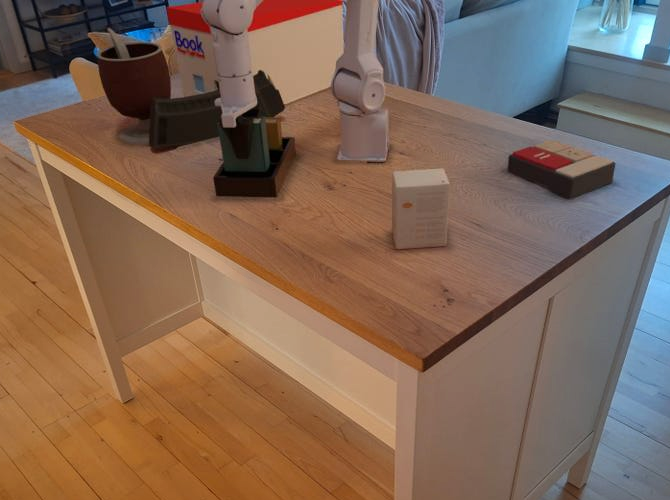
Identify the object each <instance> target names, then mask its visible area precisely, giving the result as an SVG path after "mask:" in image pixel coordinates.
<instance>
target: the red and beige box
mask: <svg viewBox="0 0 670 500" xmlns="http://www.w3.org/2000/svg"><path fill="white" fill-rule="evenodd" d="M616 164H617V163H616V162H614V161H613V160H612V159H608V158H605V157H603V156H601V155H600V156H599V155H594V153H593V152H591V151H588V150H585V149H582V148H579V147H576V146H571V145H570V144H567V143H563V142H561V141H559V140H555V139H548V140H545V141H543V142H540V143H536V144H535V145H533V146H528V147H525V148H522V149H519V150H515V151H513V152H512V154H509V155H508V160H507V172H508V173H512V174H514V175H516V176H518V177H521V178H523V179H526V180H529V181H531V182H534V183H535V184H538V185H541V186H543V187H546V188H548V189H549V190H550V191H551V193H553V194H555V195H557V196H560V197H562V198H565V199H566V200H570V199H573V198H575V197H579V196H580V195H583V194H586V193H588V192H592V191H594V190H596V189H600V188H601V187H604V186H607V185H609V184H612V183H613V180H614V173H615V169H616Z"/></svg>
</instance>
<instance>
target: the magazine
mask: <svg viewBox="0 0 670 500" xmlns="http://www.w3.org/2000/svg"><path fill="white" fill-rule="evenodd" d="M253 80H254V87H255V95H256V97H257V104H260V105H261V111H260V114H259V116H265V117H277V116H278V115H279V114H281V113H282V112H284V111H285V109H286V106H285V105H284V103H283V100H282V98H281V95H280V92H279V90H278V89H276V87H275V85H274V83H273V81H272V79H271V78H270V76H269V75H268V79H267V77H266V75H265V73H264V71H262V70H259V71H258V73H257V74H256V75H254V76H253ZM217 98H221V96H220V89H219V90H216V91H212V92H208V93H204V94H198V95H192V96H187V97H184V96H182V97H174V98H170V99H159V98H156V97H153V98H152V105H151V109H150V127H149V147H150V148H151V149H153V150H156V149H160V148H168V147H177V146H178V147H179V146H187V145H191V144H195V143H201V142H205V141H208V140H212V139H216V138H220V137H219V131H218V125H217V123H219V119H220V118H221V115H222V109H221V106H215V100H216V99H217Z"/></svg>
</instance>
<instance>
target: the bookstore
mask: <svg viewBox="0 0 670 500" xmlns="http://www.w3.org/2000/svg"><path fill="white" fill-rule="evenodd" d="M203 2H204V1H199V2H193V3H192V2H191V3H186V4H178V5H172V6H166V13H167V18H168V24H169V26H170V30H171V31H170V32H171V36H172V37H171V38H172V42H173V48H174V52H175V57H176V63H177V68H178V73H179V78H180V84H181V89H182V90H181V91H182V95H183V97H187V96H192V95H198V94H204V93H208V92H212V91H216V90H219V83H218V76H217V70H216V63H215V57H214V50H213V43H212V36H211V30H210V27H209V25H208V24H207V23H206V22H205V21H204V20H203V18H202V15H201V12H200V10H201V9H203ZM343 5H344V2H343V0H263V1H262V2H261V3H260V4H259V5H258V6H257V8H256V9H255V10H254V12H253V19H252V22H251V25H250V27H249V28H247V31H248V39H249V47H250V55H251V64H252V72H253V76H254V75H256V74H257V73H258V71H259V70H262V71H264V73H265V75H266V77H267V79H268V75H269V76H270V78H271V79H272V81H273V83H274V85H275V87H276V89H278V90H279V92H280V95H281V98H282V100H283V103H284V106H285V105H287V104H290V103H292V102H295V101H297V100H300V99H302V98H306V97H309V96H311V95H313V94H315V93H318V92H321V91H323V90H324V91H325V90H326V89H329V88H331V81H332V78H333V76H334V73H335V69H336V61H337V60H338V59H339V57H340V56H341V55H342V54H343V53H344V47H345V41H344V17H343V16H344V14H343V12H344V11H343Z"/></svg>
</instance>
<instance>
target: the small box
mask: <svg viewBox="0 0 670 500" xmlns="http://www.w3.org/2000/svg"><path fill="white" fill-rule="evenodd" d="M391 190H392V191H391V196H392V197H391V216H392V217H391V224H392V225H391V233H392V239H393V243H394V248H395V250H409V249H423V248H425V249H426V248H437V247H446V246H447V241H448V221H449V209H450V208H449V207H450V190H451V183H450V180H449V179H448V176H447V174H446V172H445V168H444V167H438V168H424V169H411V170H410V169H409V170H396V171H392V173H391Z"/></svg>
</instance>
